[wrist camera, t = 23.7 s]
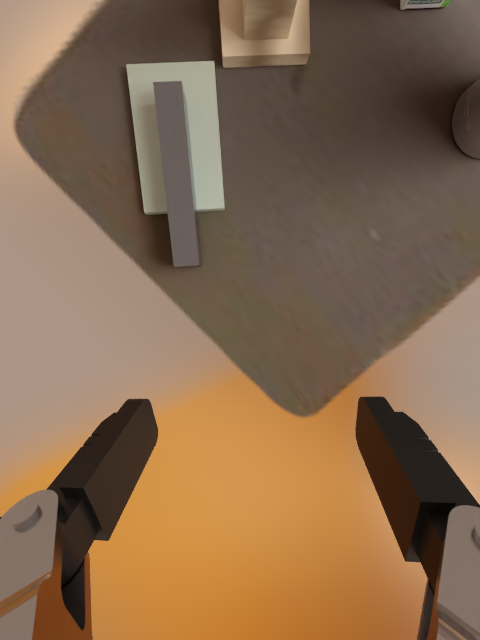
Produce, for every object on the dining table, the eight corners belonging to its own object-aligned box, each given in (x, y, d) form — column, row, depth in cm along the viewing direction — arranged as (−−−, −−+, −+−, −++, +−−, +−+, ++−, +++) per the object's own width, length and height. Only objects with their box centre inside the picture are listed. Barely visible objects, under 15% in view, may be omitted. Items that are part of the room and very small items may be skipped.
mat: (214, 68, 29) (214, 60, 28) (224, 210, 32) (224, 208, 31) (129, 71, 29) (126, 64, 28) (146, 214, 32) (144, 212, 31)
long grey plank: (186, 101, 29) (181, 80, 26) (202, 266, 32) (199, 265, 29) (160, 102, 29) (152, 82, 26) (178, 268, 32) (173, 266, 29)
